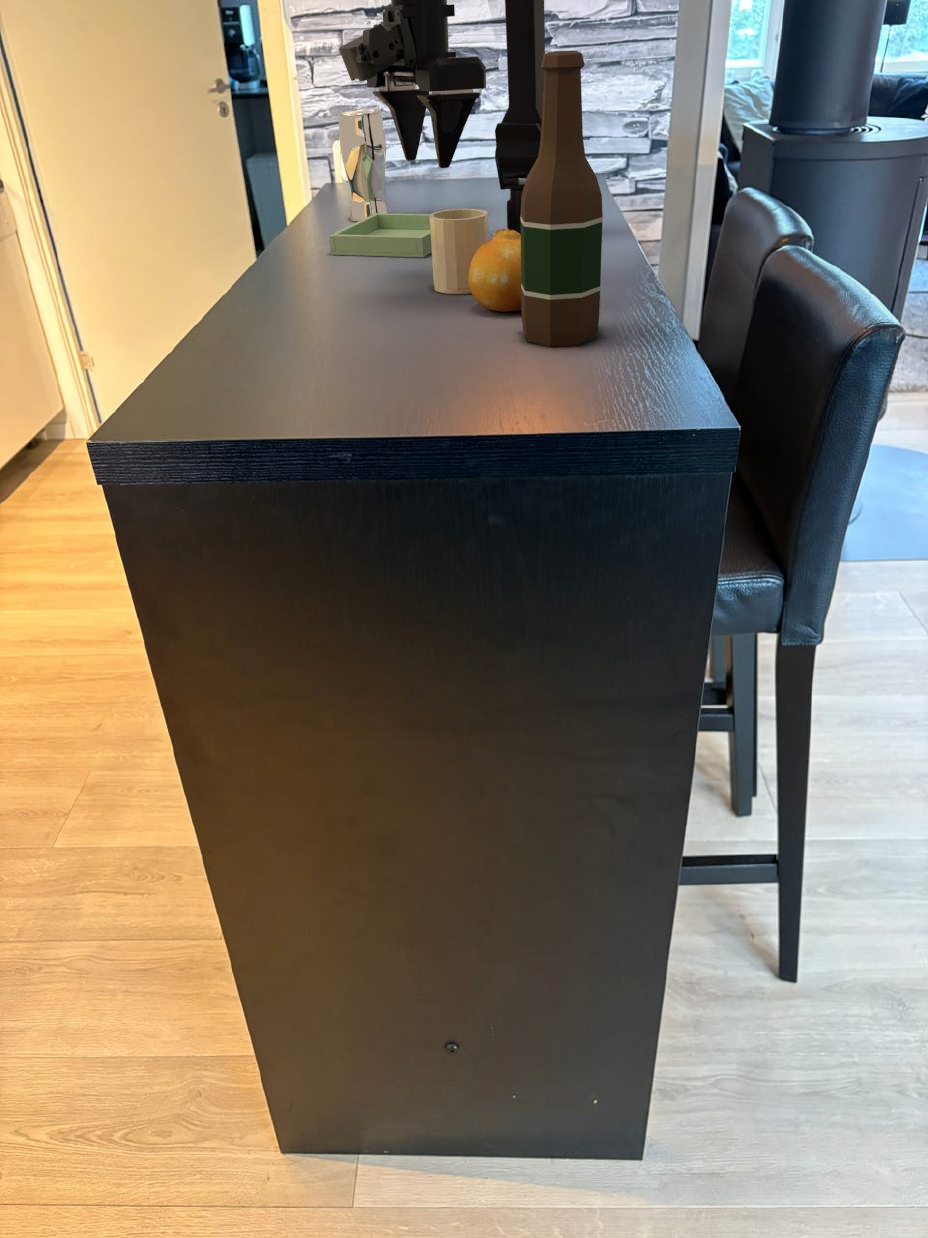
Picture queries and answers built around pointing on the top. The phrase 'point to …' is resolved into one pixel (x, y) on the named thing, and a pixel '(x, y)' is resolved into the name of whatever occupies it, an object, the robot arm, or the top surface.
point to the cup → (456, 246)
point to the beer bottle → (561, 218)
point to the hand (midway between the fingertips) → (426, 163)
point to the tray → (385, 236)
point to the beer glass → (364, 160)
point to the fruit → (498, 272)
